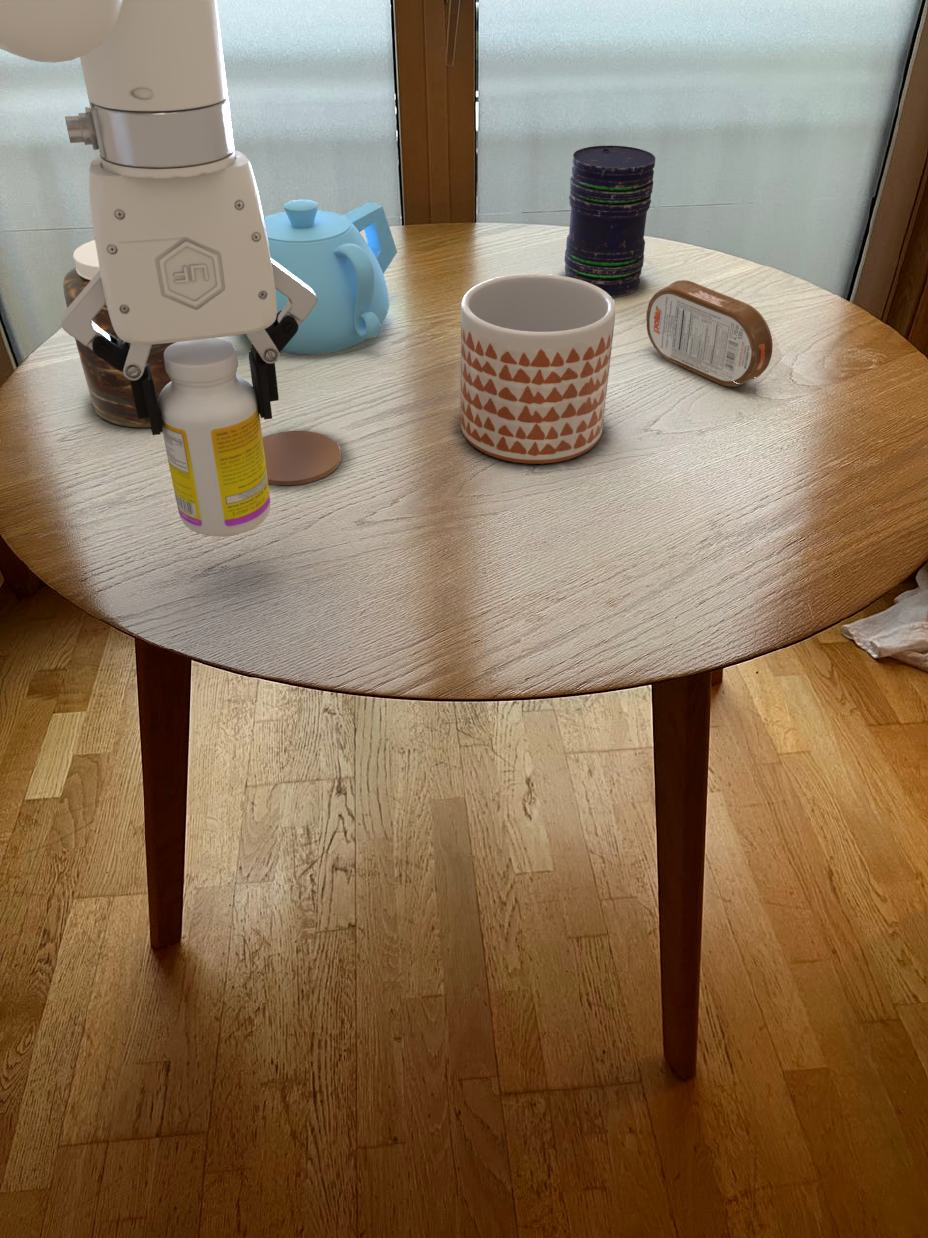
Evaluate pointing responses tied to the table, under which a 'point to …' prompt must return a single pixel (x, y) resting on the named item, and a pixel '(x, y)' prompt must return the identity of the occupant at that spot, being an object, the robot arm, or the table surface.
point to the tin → (709, 333)
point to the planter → (535, 366)
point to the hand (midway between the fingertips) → (210, 415)
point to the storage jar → (609, 216)
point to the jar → (102, 378)
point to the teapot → (334, 271)
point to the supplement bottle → (213, 439)
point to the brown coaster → (299, 457)
